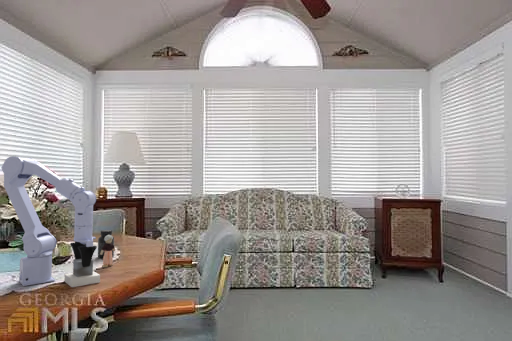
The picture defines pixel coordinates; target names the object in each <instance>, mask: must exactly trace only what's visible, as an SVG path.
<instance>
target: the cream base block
mask: <svg viewBox="0 0 512 341" xmlns="http://www.w3.org/2000/svg"><path fill="white" fill-rule="evenodd" d="M63 281H64V283H66V284H67V285H68V286H69V287H71V288H75V287H76V288H77V287H81V286H85V285H92V284H99V283H101V274H99V273H98V272H96V271H94V270H93V275H87V276H81V277H76V276H75V275H74V274H73V272H68V273H64V280H63Z"/></svg>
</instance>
